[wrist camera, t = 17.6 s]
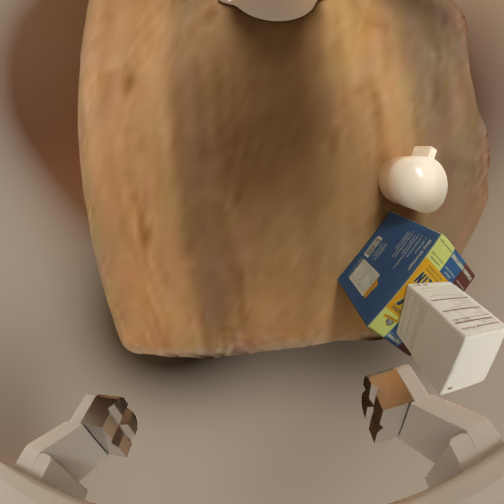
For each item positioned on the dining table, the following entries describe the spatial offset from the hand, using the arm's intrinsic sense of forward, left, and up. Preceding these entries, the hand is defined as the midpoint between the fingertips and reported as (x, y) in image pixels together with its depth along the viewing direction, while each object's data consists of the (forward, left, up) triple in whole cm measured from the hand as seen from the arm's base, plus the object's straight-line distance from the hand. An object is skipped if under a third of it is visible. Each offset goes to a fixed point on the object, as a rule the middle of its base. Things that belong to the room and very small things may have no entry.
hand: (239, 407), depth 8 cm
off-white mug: (-3, +26, -37) cm, 45 cm away
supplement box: (+13, +21, -22) cm, 33 cm away
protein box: (+12, +21, -37) cm, 45 cm away
